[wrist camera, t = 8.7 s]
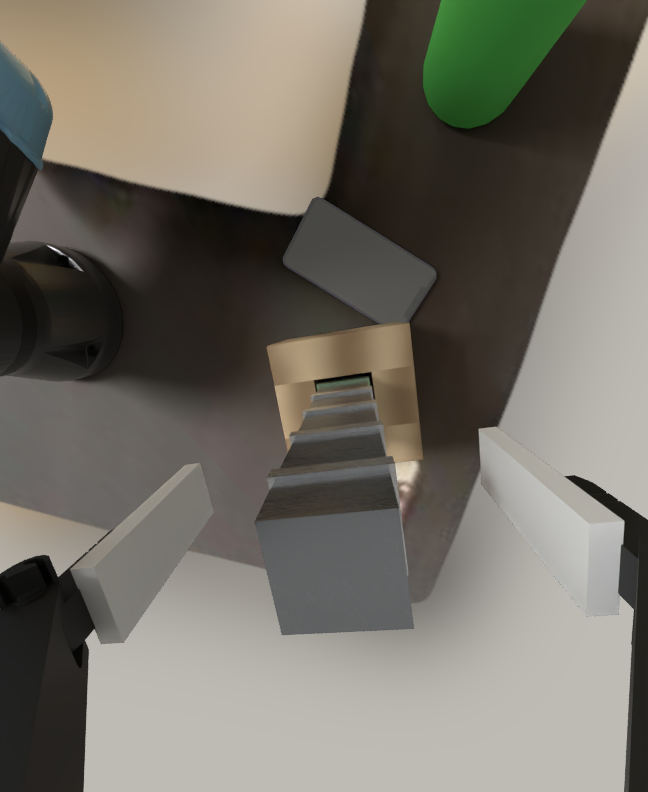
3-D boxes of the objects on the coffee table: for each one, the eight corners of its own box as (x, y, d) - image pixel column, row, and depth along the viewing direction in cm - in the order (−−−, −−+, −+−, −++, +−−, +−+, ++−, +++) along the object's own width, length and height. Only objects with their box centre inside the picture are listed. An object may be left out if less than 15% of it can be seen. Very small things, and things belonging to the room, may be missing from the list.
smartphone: (314, 192, 31) (441, 271, 32) (316, 196, 32) (439, 272, 33) (279, 263, 33) (399, 336, 34) (281, 264, 34) (398, 336, 35)
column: (328, 420, 31) (276, 640, 10) (320, 376, 30) (246, 516, 9) (372, 414, 31) (421, 633, 9) (366, 370, 30) (406, 500, 8)
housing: (305, 438, 38) (289, 482, 28) (287, 339, 36) (261, 347, 25) (406, 426, 37) (427, 467, 26) (394, 321, 34) (413, 323, 24)
